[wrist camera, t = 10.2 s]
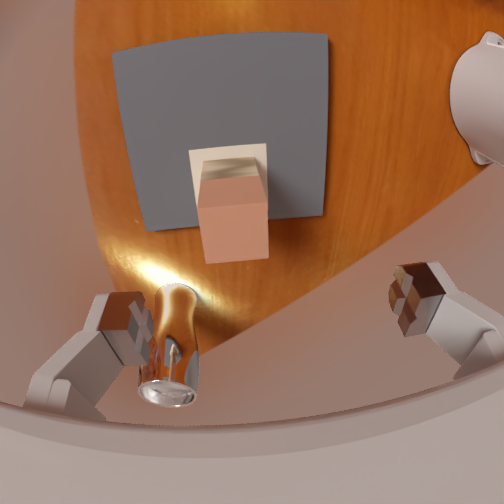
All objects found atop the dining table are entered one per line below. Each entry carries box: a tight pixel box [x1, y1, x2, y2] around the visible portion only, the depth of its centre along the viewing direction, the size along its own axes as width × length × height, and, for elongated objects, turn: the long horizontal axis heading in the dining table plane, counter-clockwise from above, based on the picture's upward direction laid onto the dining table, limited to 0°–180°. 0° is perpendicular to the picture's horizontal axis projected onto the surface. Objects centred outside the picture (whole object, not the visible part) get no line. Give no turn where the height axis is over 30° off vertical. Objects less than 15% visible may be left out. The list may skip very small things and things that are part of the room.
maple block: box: [200, 157, 259, 182], centre depth 29 cm, size 5×5×5 cm
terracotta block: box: [197, 175, 269, 264], centre depth 25 cm, size 5×5×5 cm
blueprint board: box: [112, 32, 328, 232], centre depth 29 cm, size 20×20×1 cm
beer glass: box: [138, 283, 199, 408], centre depth 36 cm, size 7×7×15 cm
